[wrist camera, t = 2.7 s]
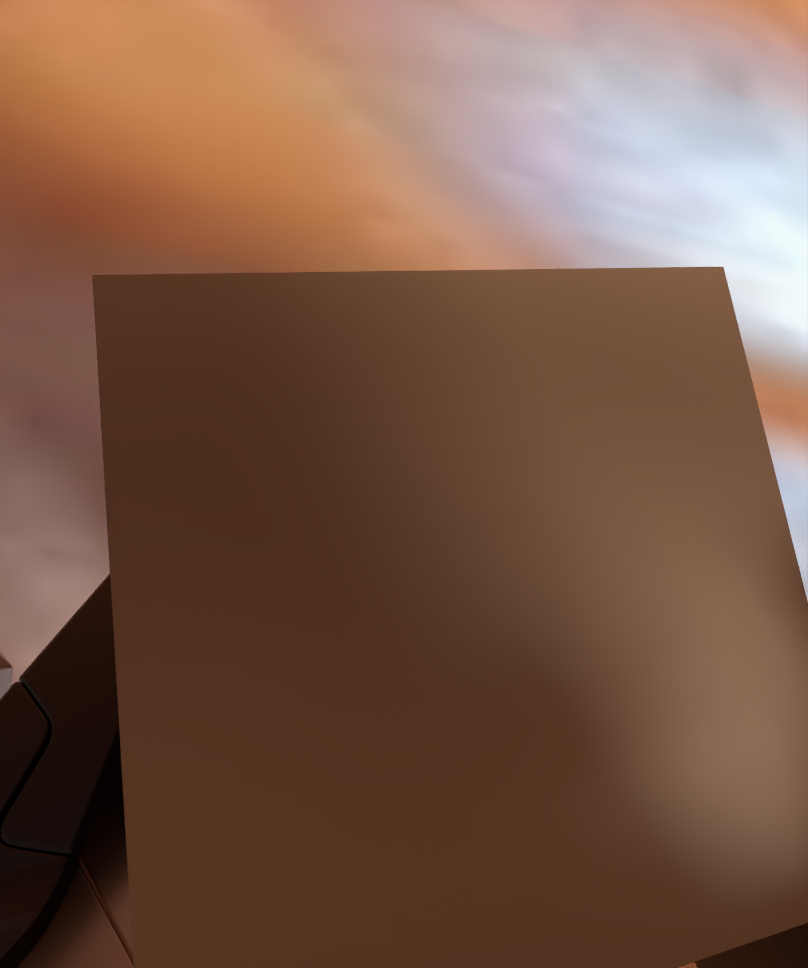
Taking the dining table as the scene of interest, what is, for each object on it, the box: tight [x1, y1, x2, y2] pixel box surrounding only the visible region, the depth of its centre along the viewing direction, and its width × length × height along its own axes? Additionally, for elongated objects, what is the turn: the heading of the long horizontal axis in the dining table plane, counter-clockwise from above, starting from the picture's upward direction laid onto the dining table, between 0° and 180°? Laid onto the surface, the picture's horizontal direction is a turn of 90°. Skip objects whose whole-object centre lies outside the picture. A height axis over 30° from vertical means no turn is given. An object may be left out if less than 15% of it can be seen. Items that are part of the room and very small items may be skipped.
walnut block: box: [93, 267, 808, 968], centre depth 9 cm, size 4×4×12 cm
